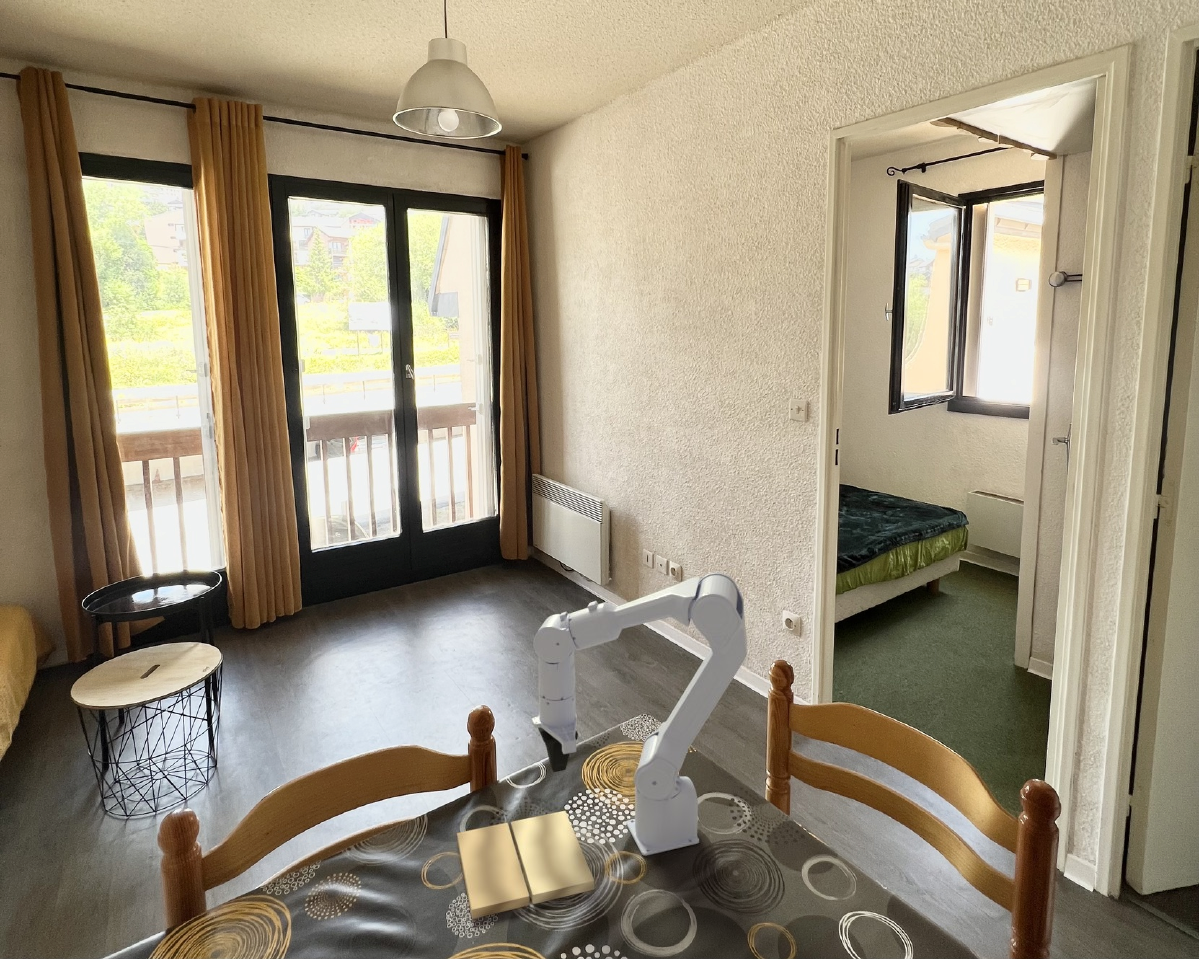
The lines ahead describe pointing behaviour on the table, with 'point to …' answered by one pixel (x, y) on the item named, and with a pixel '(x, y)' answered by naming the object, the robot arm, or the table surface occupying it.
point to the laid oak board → (491, 870)
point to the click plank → (551, 857)
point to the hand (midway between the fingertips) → (558, 768)
